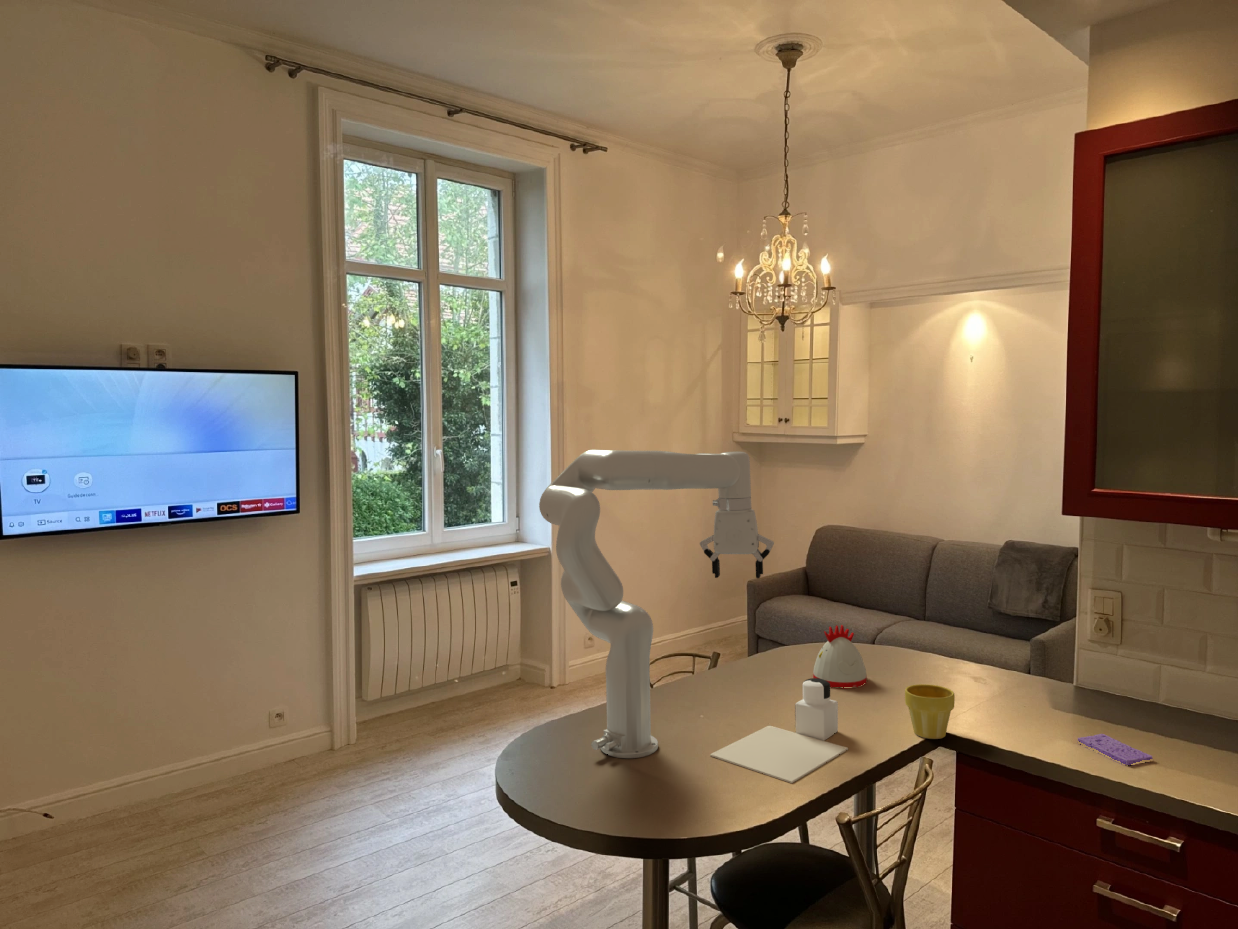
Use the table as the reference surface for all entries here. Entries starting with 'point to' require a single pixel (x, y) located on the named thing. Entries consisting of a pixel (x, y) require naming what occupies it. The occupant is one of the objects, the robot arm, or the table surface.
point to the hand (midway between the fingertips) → (737, 577)
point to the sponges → (1114, 749)
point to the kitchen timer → (840, 661)
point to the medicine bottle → (816, 710)
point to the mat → (779, 753)
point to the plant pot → (929, 709)
